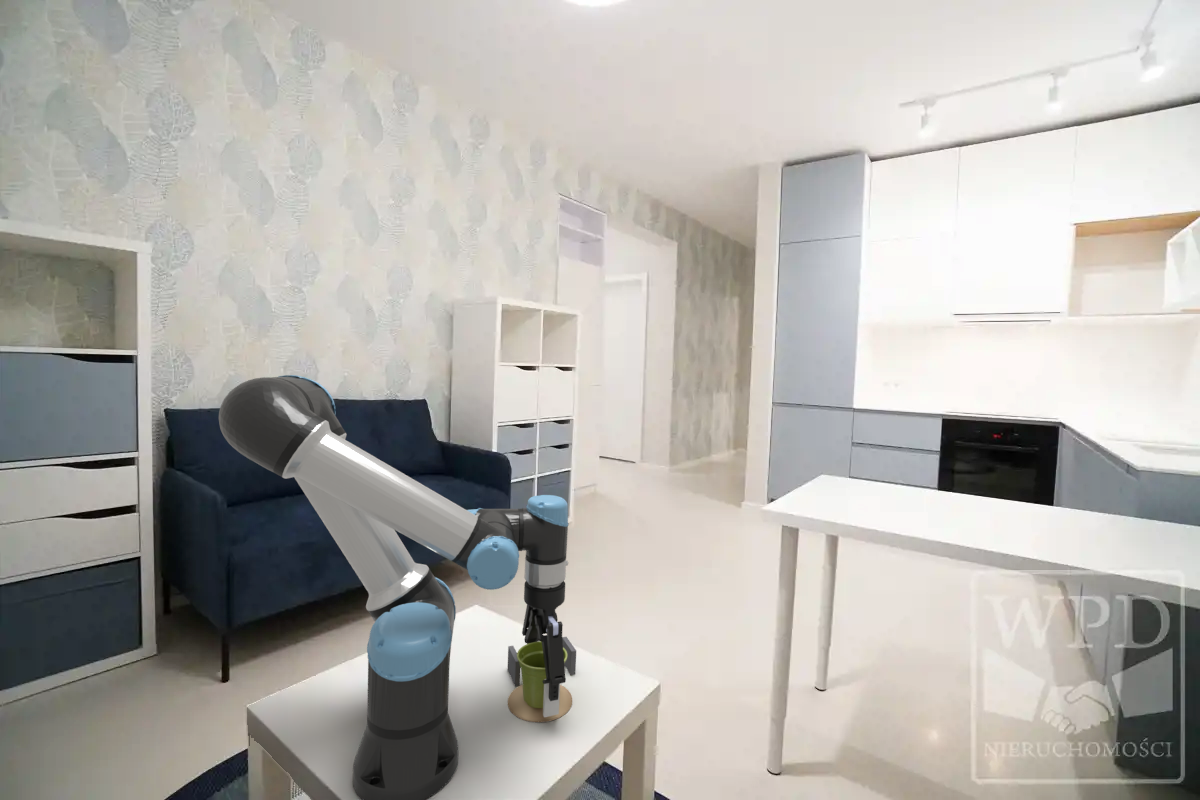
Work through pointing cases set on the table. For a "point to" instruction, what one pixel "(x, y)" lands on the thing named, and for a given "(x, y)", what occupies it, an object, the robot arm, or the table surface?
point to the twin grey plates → (515, 667)
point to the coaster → (536, 714)
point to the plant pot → (533, 672)
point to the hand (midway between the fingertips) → (540, 694)
